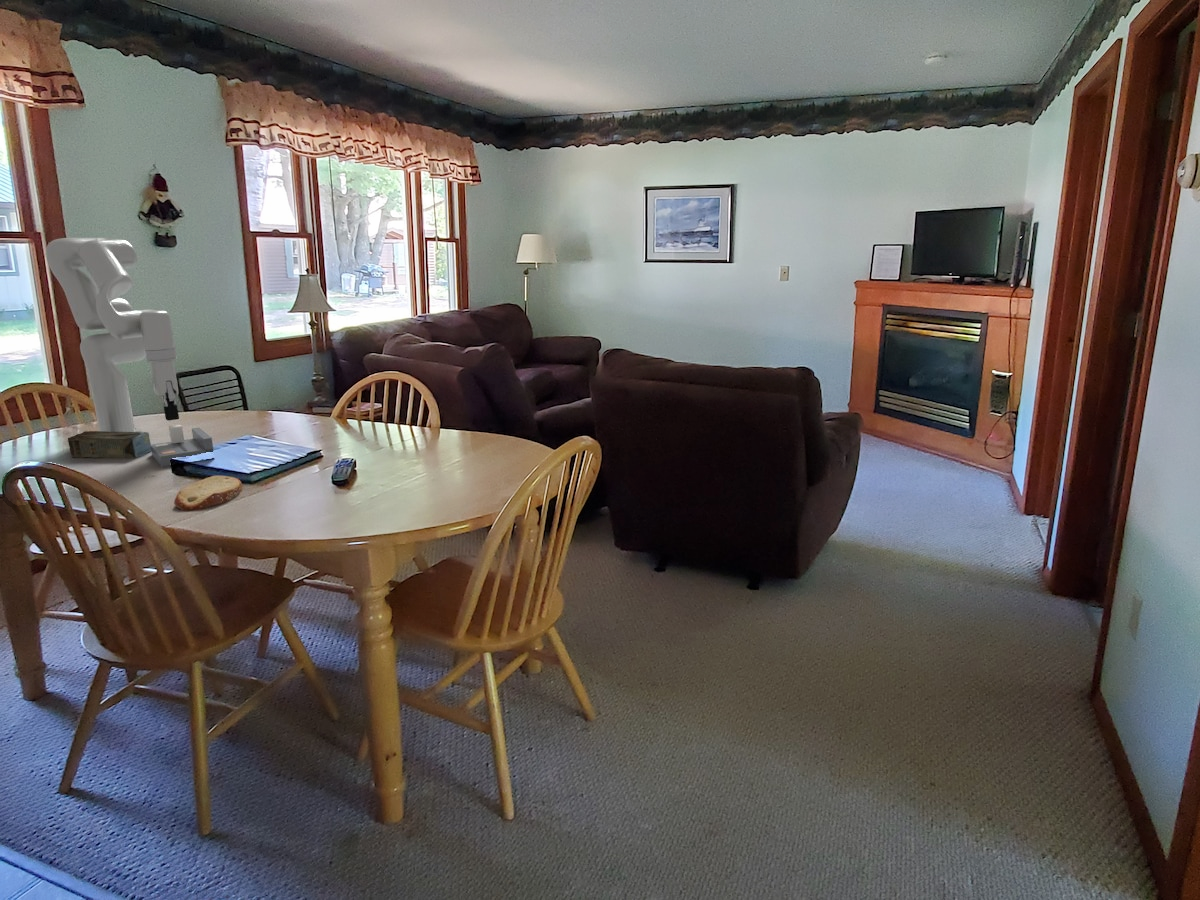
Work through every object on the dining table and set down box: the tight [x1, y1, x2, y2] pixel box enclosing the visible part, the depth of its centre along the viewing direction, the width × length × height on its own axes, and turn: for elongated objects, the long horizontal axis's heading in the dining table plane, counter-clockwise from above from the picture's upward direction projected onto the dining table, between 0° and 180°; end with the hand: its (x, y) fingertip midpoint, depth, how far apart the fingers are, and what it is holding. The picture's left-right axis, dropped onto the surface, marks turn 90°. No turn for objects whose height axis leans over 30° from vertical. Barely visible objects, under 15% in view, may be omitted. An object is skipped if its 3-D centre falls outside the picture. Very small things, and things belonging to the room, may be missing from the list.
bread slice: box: [173, 475, 244, 512], centre depth 185 cm, size 18×18×4 cm
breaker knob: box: [168, 424, 185, 443], centre depth 222 cm, size 2×3×4 cm
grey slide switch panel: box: [150, 427, 214, 468], centre depth 219 cm, size 16×13×6 cm
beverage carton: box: [67, 430, 152, 459], centre depth 222 cm, size 8×19×7 cm, turn 87°
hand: (172, 419), depth 225 cm, fingers closed
